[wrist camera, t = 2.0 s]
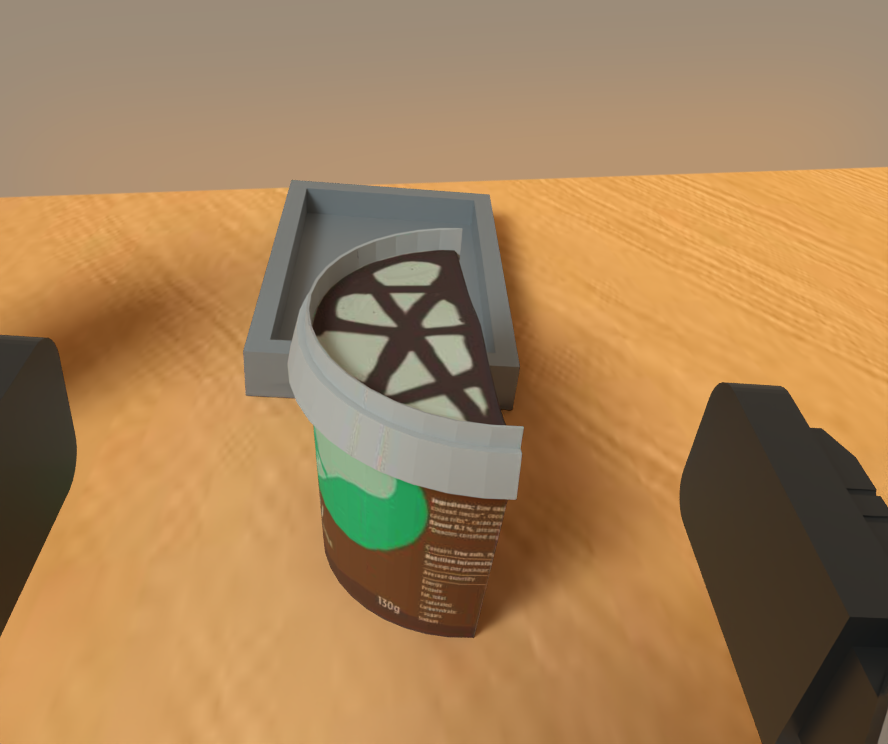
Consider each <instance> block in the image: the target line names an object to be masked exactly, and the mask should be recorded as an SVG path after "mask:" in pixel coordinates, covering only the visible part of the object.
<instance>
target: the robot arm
mask: <svg viewBox="0 0 888 744" xmlns="http://www.w3.org/2000/svg"><path fill="white" fill-rule="evenodd" d="M76 456H77V445H76V436H75V431H74V426H73V421H72V416H71V411H70V406H69V402H68V397H67V392H66V387H65V382H64V377H63V372H62V367H61V362H60V357H59V353H58V350H57V347H56V345H55V343H54V342H53V341H52V340H51V339H49V338H41V337H25V336H9V335H0V636H1V634H2V632H3V630H4V628H5V626H6V624H7V621H8V619H9V617H10V615H11V613H12V611H13V609H14V607H15V604H16V602H17V600H18V598H19V596H20V594H21V592H22V590H23V588H24V585H25V583H26V581H27V579H28V577H29V575H30V573H31V571H32V568H33V566H34V564H35V562H36V560H37V558H38V556H39V554H40V551H41V549H42V547H43V545H44V543H45V541H46V539H47V537H48V534H49V532H50V530H51V528H52V526H53V524H54V522H55V520H56V517H57V515H58V513H59V511H60V509H61V507H62V505H63V503H64V501H65V498H66V496H67V494H68V492H69V490H70V487H71V484H72V481H73V477H74V473H75V467H76ZM680 510H681V516H682V520H683V523H684V526H685V529H686V532H687V535H688V537H689V540H690V543H691V546H692V549H693V551H694V554H695V557H696V560H697V563H698V565H699V568H700V571H701V574H702V577H703V579H704V582H705V585H706V588H707V591H708V593H709V596H710V599H711V602H712V604H713V607H714V610H715V613H716V616H717V618H718V621H719V624H720V627H721V630H722V632H723V635H724V638H725V641H726V644H727V646H728V649H729V652H730V655H731V658H732V660H733V663H734V666H735V669H736V671H737V674H738V677H739V680H740V683H741V685H742V688H743V691H744V694H745V697H746V699H747V702H748V705H749V708H750V711H751V713H752V716H753V719H754V722H755V725H756V727H757V730H758V733H759V736H760V739H761V741H762V744H888V507H887V505H886V504H885V502H884V501H883V499H882V498H881V496H876V488H875V487H874V485H873V484H872V482H871V480H870V479H869V477H868V476H867V474H866V473H865V471H864V469H863V468H862V466H861V465H860V463H859V462H858V460H857V459H856V457H855V456H854V455H852V454H851V453H850V452H849V451H848V450H846V449H845V448H844V447H843V446H842V445H841V444H839V443H838V442H837V441H836V440H835V439H834V438H832V437H831V436H830V435H829V434H828V433H827V432H825V431H824V430H823V429H822V428H810V427H809V425H808V424H807V422H806V420H805V419H804V417H803V415H802V414H801V412H800V410H799V409H798V407H797V405H796V404H795V402H794V400H793V399H792V397H791V395H790V394H789V392H788V391H787V390H786V389H785V388H784V387H781V386H771V385H756V384H740V383H724V382H722V383H719V384H718V385H717V386H716V387H715V388H714V390H713V391H712V393H711V395H710V398H709V401H708V403H707V406H706V409H705V412H704V415H703V417H702V420H701V423H700V426H699V429H698V431H697V434H696V437H695V440H694V443H693V445H692V448H691V451H690V454H689V457H688V459H687V462H686V465H685V468H684V471H683V474H682V478H681V484H680Z"/></svg>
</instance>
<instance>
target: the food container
mask: <svg viewBox="0 0 888 744" xmlns="http://www.w3.org/2000/svg"><path fill="white" fill-rule="evenodd" d="M461 240H462V228H436V229H424V230H415V231H409V232H403V233H397V234H393V235H389V236H386V237H382V238H378V239H375V240H372V241H369V242H367V243H364V244H362V245H359V246H357V247H355V248H353V249H351V250H349V251H348V252H346V253H344V254H342V255H340V256H339V257H338V258H336V259H335V260H334V261H333V262H331V263H330V264H329V265H328V266H326V267H325V268H324V270H323V271H322V272H321V273H320V274H319V276H318V277H317V278H316V279H315V281H314V283H313V285H312V288H311V290H310V292H309V293H308V294H307V296H306V298H305V300H304V302H303V304H302V306H301V308H300V310H299V314H298V318H297V322H296V326H295V330H294V334H293V338H292V342H291V346H290V352H289V358H288V363H287V364H288V374H289V383H290V385H291V388H292V391H293V393H294V396H295V399H296V401H297V403H298V404H299V406H300V408H301V409H302V411H303V412H304V414H305V415H306V417H307V418H308V420H309V421H310V422H311V423H312V424H313V425H314V437H315V448H316V459H317V471H318V482H319V493H320V505H321V516H322V527H323V538H324V546H325V553H326V556H327V559H328V562H329V565H330V567H331V569H332V571H333V573H334V574H335V576H336V578H337V579H338V581H339V583H340V584H341V585H342V586H343V587H344V588H345V589H346V591H347V592H348V593H349V594H350V595H351V596H352V597H353V598H354V599H355V600H357V601H358V602H359V603H360V604H361V605H363V606H364V607H365V608H366V609H368V610H370V611H371V612H373V613H375V614H376V615H378V616H380V617H381V618H383V619H385V620H387V621H389V622H392V623H394V624H396V625H399V626H401V627H404V628H406V629H410V630H414V631H417V632H421V633H425V634H430V635H437V636H444V637H468V638H474V635H475V631H476V627H477V623H478V619H479V615H480V611H481V606H482V602H483V598H484V594H485V590H486V586H487V582H488V578H489V574H490V570H491V566H492V561H493V557H494V553H495V549H496V545H497V541H498V537H499V533H500V529H501V525H502V521H503V516H504V512H505V508H506V504H507V500H508V499H511V500H516V499H517V491H518V483H519V475H520V467H521V459H522V452H521V449H520V448H521V442H522V436H523V430H524V427H523V426H506V424H505V421H504V419H503V416H502V413H501V409H500V405H499V402H498V398H497V394H496V390H495V386H494V382H493V378H492V374H491V370H490V365H489V361H488V356H487V351H486V347H485V342H484V337H483V333H482V328H481V324H480V321H479V319H478V316H477V314H476V311H475V309H474V307H473V304H472V302H471V299H470V296H469V293H468V290H467V286H466V283H465V279H464V276H463V272H462V269H461V265H460V262H459V261H460V250H461Z"/></svg>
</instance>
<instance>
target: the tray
mask: <svg viewBox="0 0 888 744" xmlns="http://www.w3.org/2000/svg"><path fill="white" fill-rule="evenodd" d="M436 228H462V240H461V250H460V261H459V262H460V265H461V269H462V272H463V276H464V279H465V283H466V286H467V290H468V293H469V296H470V299H471V302H472V304H473V307H474V309H475V311H476V314H477V316H478V319H479V321H480V324H481V328H482V333H483V337H484V342H485V347H486V351H487V356H488V361H489V365H490V370H491V374H492V378H493V382H494V386H495V390H496V394H497V398H498V402H499V405H500V409H509V410H512V409H513V403H514V398H515V392H516V387H517V381H518V376H519V370H520V364H519V359H518V353H517V347H516V342H515V336H514V330H513V325H512V319H511V313H510V308H509V302H508V297H507V291H506V285H505V280H504V274H503V268H502V263H501V257H500V251H499V246H498V240H497V234H496V229H495V223H494V217H493V212H492V206H491V201H490V195H487V194H474V193H460V192H447V191H433V190H420V189H406V188H393V187H379V186H366V185H352V184H339V183H325V182H312V181H298V180H292V181H291V184H290V187H289V191H288V194H287V198H286V202H285V205H284V209H283V212H282V216H281V219H280V223H279V226H278V230H277V233H276V237H275V241H274V244H273V248H272V251H271V255H270V258H269V262H268V265H267V269H266V272H265V276H264V280H263V283H262V287H261V290H260V294H259V297H258V301H257V304H256V308H255V311H254V315H253V319H252V322H251V326H250V329H249V333H248V336H247V340H246V343H245V347H244V350H243V355H244V372H245V390H246V395H248V396H267V397H286V398H295V396H294V393H293V391H292V388H291V385H290V383H289V374H288V364H287V363H288V358H289V352H290V346H291V342H292V338H293V334H294V330H295V326H296V322H297V318H298V314H299V310H300V308H301V306H302V304H303V302H304V300H305V298H306V296H307V294H308V293H309V292H310V290H311V288H312V285H313V283H314V281H315V279H316V278H317V277H318V276H319V274H320V273H321V272H322V271H323V270H324V268H325V267H326V266H328V265H329V264H330V263H331V262H333V261H334V260H335V259H336V258H338V257H339V256H340V255H342V254H344V253H346V252H348V251H349V250H351V249H353V248H355V247H357V246H359V245H362V244H364V243H367V242H369V241H372V240H375V239H378V238H382V237H386V236H389V235H393V234H397V233H403V232H409V231H415V230H424V229H436Z"/></svg>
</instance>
